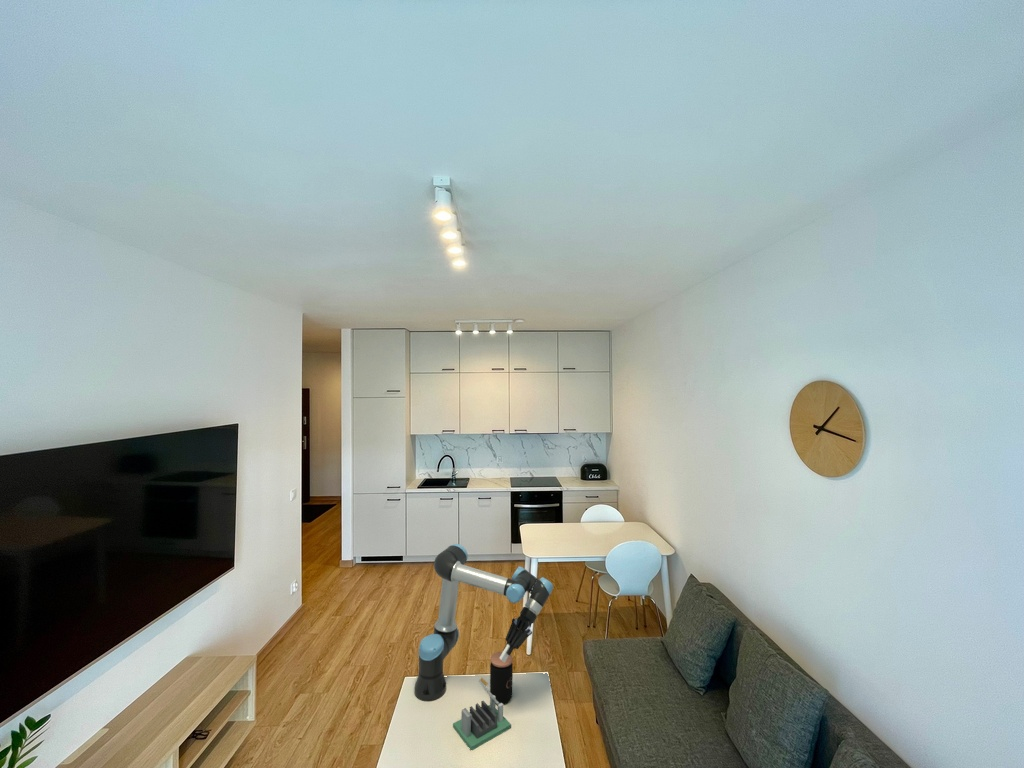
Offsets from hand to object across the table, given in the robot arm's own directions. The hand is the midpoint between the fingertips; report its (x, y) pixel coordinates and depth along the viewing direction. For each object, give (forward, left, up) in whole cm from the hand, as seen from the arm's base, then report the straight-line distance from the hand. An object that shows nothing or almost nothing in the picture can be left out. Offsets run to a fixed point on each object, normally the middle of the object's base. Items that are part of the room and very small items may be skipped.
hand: (501, 660), depth 183 cm
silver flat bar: (0, -7, -12) cm, 14 cm away
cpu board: (0, -10, -25) cm, 27 cm away
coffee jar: (-10, +7, -25) cm, 28 cm away
